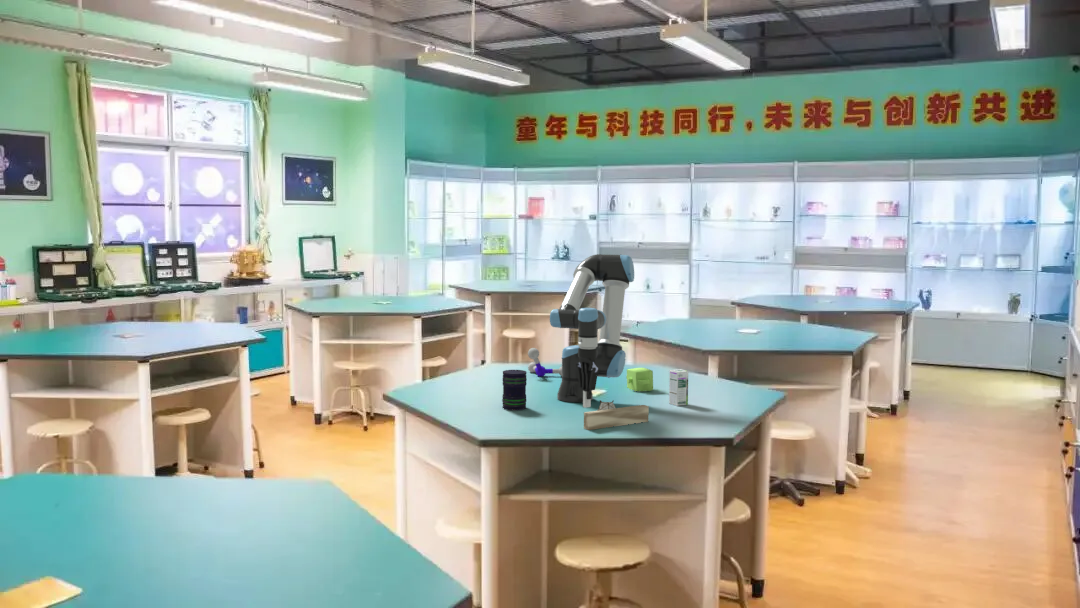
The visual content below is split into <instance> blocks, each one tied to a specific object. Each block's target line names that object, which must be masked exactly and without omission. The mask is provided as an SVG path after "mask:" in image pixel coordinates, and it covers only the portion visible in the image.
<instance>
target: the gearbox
mask: <svg viewBox="0 0 1080 608" xmlns="http://www.w3.org/2000/svg"><path fill="white" fill-rule="evenodd" d="M625 376H626V388H627V389H628V388H629V390H631V389H632V390H631V391H633V390H634V391H633V392H636V391H637V392H650V391H654V372H653V370H652V369H649V368H646V367H635V368H628V369H626V375H625Z"/></svg>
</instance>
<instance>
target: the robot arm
mask: <svg viewBox="0 0 1080 608" xmlns="http://www.w3.org/2000/svg"><path fill="white" fill-rule="evenodd" d="M572 276H573V279H572V281H571V284H570V285H569V288H568V290H567V292H566V294H565V296H564V298H563V300H562V303H561V304H560V307H559V308H554V309H552V310H551V311H550V313H549V323H550V325H551V327H552V328H557V329H574V330H576V329H577V330H578V332H577V333H578V337H577V338H578V342H577V343H578V344H577V345H576V344H574V345H568V346H565V347H564V348H563V349H562V351H561V354H562V355H561V366H562V376H561V382H560V386H559V389H558V392H557V397H556V398H557V400H559V401H561V402H568V403H582V408H584V409H587V408H591V407H592V404H591V403H592V401H593V400H594V397H593V396H594V394H593V391H595V390H596V386H597V381H598V380H597V379H598V377H600V378H609V379H610V378H619V377H620V376H621V375H622V373H624V369H625V365H626V357H627V356H626V352H625V350H623V346H622V345H621V343H620V338H621V329H622V321H623V312H624V311H623V310H624V303H625V302H624V301H625V295H626V290H627V289H628V288H629V287H630V283H633V282H634V281H635V267H634V260H633V258H632V256H630V255H628V254H603V253H602V254H601V253H599V254H593V255H590V256H587V257H586V258H585V259H583V260H582V261H581V262H579V264H578V265H577V266H576V267H575V269H574V271H573V273H572ZM598 281H599V282H602V285H603V287H604V298H603V305H602V310H599V309H597V308H595V307H581V306H582V303H583V301H584V299H585V297H586V295H587V292H588V290H589V288H590V286H592V285H593V284H594V282H598ZM598 330H600V331H598ZM598 332H599V340H598Z"/></svg>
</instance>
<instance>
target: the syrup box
mask: <svg viewBox="0 0 1080 608" xmlns="http://www.w3.org/2000/svg"><path fill="white" fill-rule="evenodd" d="M668 380H669V381H668V382H669V389H668V390H669V391H668V392H669V398H668V403H669V404H670V405H672V404H673V405H672V406H675V405H676V407H678V406H679V407H680V406H688V404H689V371H688V370H686V369H681V368H680V369H671V370H669V378H668Z"/></svg>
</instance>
